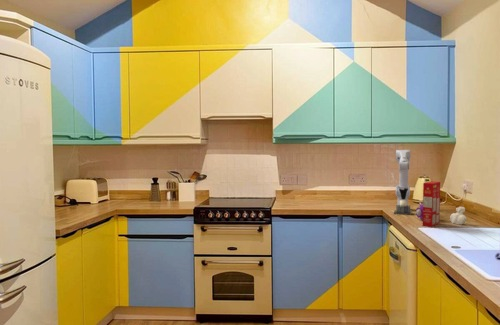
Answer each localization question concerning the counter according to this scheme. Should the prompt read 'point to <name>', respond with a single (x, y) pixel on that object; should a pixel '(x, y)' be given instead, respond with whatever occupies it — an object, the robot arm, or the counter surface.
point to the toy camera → (419, 211)
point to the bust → (458, 216)
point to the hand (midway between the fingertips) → (403, 199)
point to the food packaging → (431, 203)
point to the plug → (403, 203)
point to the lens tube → (403, 210)
